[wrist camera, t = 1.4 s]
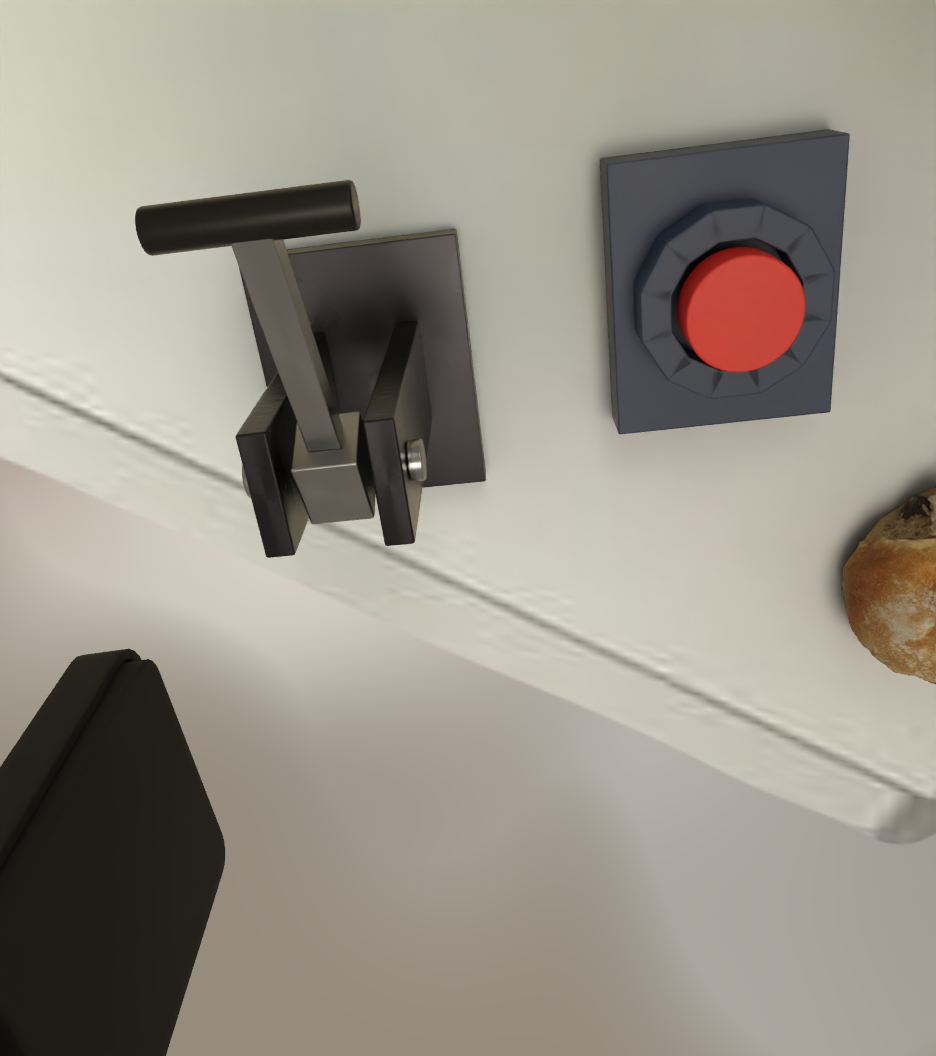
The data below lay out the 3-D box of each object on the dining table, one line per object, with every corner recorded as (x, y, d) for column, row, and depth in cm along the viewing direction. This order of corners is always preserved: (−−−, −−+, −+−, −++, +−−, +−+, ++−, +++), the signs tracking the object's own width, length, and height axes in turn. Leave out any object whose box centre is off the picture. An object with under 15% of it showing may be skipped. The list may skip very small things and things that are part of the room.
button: (676, 253, 34) (685, 262, 32) (794, 239, 34) (809, 247, 32) (677, 365, 36) (686, 379, 34) (789, 352, 36) (803, 366, 34)
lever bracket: (243, 254, 38) (141, 338, 26) (456, 228, 37) (444, 303, 26) (297, 490, 43) (231, 646, 31) (485, 470, 42) (486, 622, 31)
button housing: (599, 158, 36) (612, 169, 32) (830, 129, 35) (869, 136, 32) (612, 417, 41) (624, 451, 37) (813, 395, 40) (846, 428, 37)
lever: (144, 184, 23) (125, 238, 22) (353, 157, 23) (348, 210, 21) (271, 478, 32) (263, 530, 31) (422, 461, 32) (422, 514, 30)
